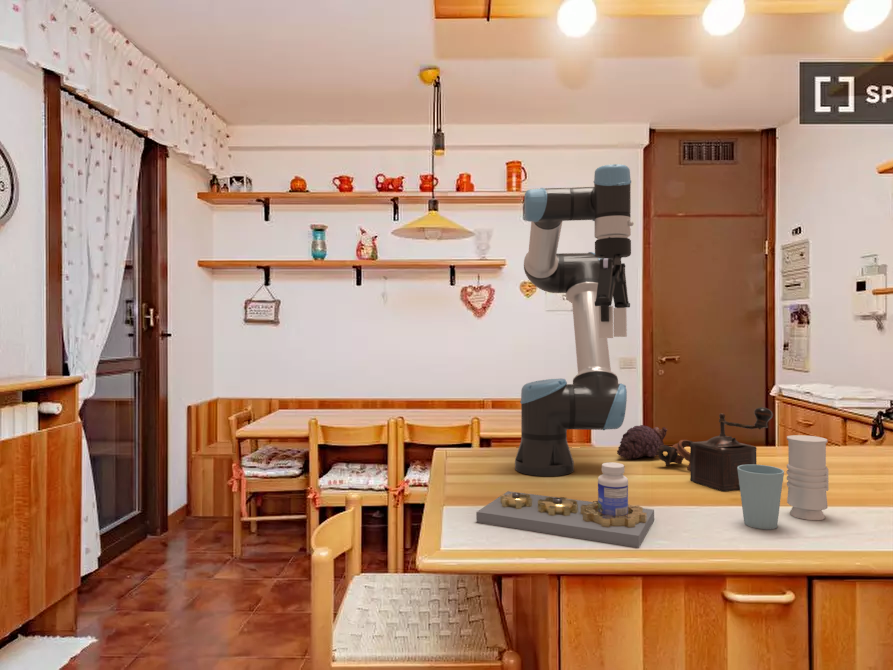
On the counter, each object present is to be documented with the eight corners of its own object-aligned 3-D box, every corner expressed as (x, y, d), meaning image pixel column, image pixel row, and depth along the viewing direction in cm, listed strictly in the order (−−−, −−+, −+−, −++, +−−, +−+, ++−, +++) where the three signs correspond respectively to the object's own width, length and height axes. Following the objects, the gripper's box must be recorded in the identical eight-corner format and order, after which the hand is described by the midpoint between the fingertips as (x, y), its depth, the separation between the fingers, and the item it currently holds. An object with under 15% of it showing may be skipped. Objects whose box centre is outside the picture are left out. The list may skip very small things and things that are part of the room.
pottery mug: (689, 464, 163) (702, 440, 159) (701, 488, 154) (715, 463, 150) (647, 454, 162) (660, 430, 158) (656, 477, 153) (670, 452, 150)
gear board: (476, 522, 115) (476, 511, 115) (508, 500, 129) (508, 491, 129) (638, 547, 101) (638, 535, 101) (654, 520, 115) (654, 509, 115)
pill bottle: (599, 511, 114) (598, 460, 114) (629, 513, 112) (628, 462, 112) (597, 520, 109) (596, 467, 109) (628, 523, 107) (627, 468, 107)
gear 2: (572, 522, 108) (572, 514, 108) (589, 504, 119) (589, 497, 118) (640, 531, 103) (640, 523, 103) (651, 512, 113) (651, 505, 113)
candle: (828, 523, 112) (828, 443, 112) (785, 517, 116) (785, 439, 115) (828, 513, 118) (828, 437, 118) (787, 508, 121) (787, 434, 121)
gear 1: (532, 512, 114) (532, 501, 114) (545, 502, 121) (545, 491, 121) (571, 518, 110) (571, 506, 110) (582, 506, 117) (582, 496, 117)
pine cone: (635, 465, 160) (615, 431, 164) (618, 475, 168) (600, 443, 172) (684, 442, 167) (664, 410, 170) (665, 453, 175) (646, 422, 179)
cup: (729, 524, 112) (729, 468, 112) (748, 515, 117) (748, 462, 117) (773, 534, 106) (773, 476, 106) (790, 525, 111) (790, 469, 111)
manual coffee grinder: (724, 492, 133) (724, 411, 133) (688, 481, 143) (688, 405, 143) (777, 485, 138) (777, 407, 138) (739, 474, 149) (739, 402, 148)
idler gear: (495, 506, 118) (495, 495, 118) (507, 498, 124) (507, 488, 124) (525, 510, 115) (525, 499, 115) (536, 502, 121) (536, 491, 121)
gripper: (617, 229, 116) (618, 338, 117) (641, 244, 139) (641, 336, 139) (579, 232, 120) (580, 338, 120) (608, 246, 142) (609, 336, 142)
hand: (613, 337), depth 130 cm, fingers open, 13 cm apart
